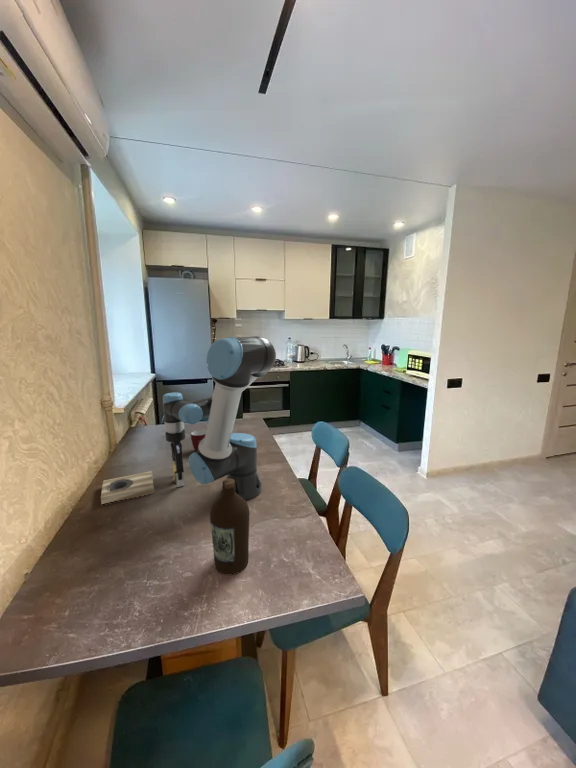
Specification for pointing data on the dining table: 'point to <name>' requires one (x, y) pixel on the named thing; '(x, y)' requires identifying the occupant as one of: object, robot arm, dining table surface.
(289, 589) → the dining table surface
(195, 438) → the mug
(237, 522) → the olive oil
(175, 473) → the cylinder with metal cap
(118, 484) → the jig
